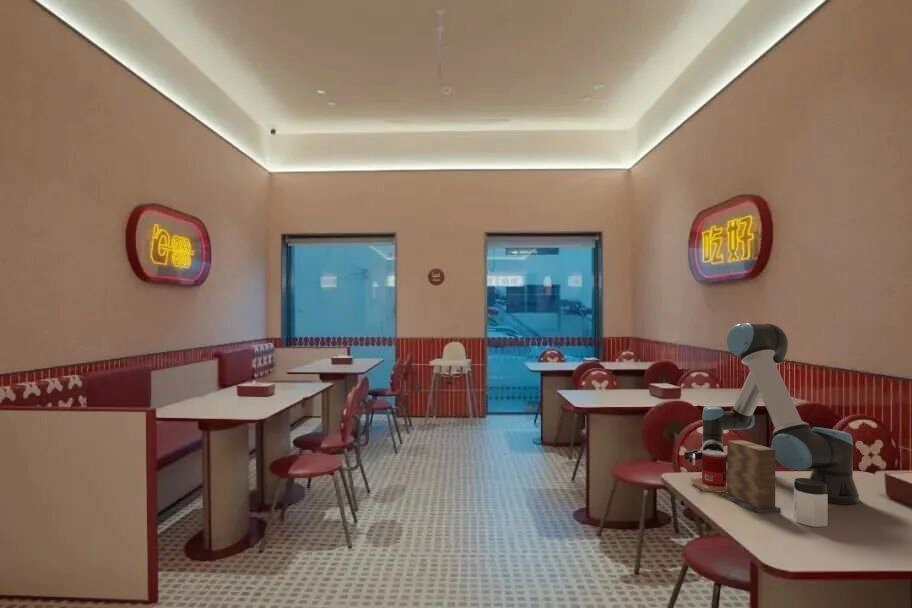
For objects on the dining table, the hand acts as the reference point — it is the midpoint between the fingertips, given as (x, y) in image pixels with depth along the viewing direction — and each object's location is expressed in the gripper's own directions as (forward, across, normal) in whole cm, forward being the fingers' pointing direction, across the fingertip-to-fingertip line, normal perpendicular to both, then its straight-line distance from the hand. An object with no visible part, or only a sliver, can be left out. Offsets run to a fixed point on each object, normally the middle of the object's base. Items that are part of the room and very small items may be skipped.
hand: (714, 463), depth 197 cm
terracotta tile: (-3, 0, -9) cm, 10 cm away
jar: (+23, -25, -9) cm, 35 cm away
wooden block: (+12, -10, -9) cm, 19 cm away
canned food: (-3, 0, -8) cm, 9 cm away
